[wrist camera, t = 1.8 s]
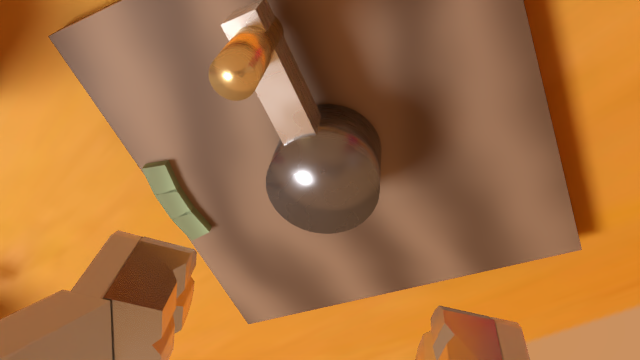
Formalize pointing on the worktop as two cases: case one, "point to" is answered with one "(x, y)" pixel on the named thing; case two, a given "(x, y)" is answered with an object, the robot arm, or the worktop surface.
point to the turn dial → (300, 128)
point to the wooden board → (357, 94)
